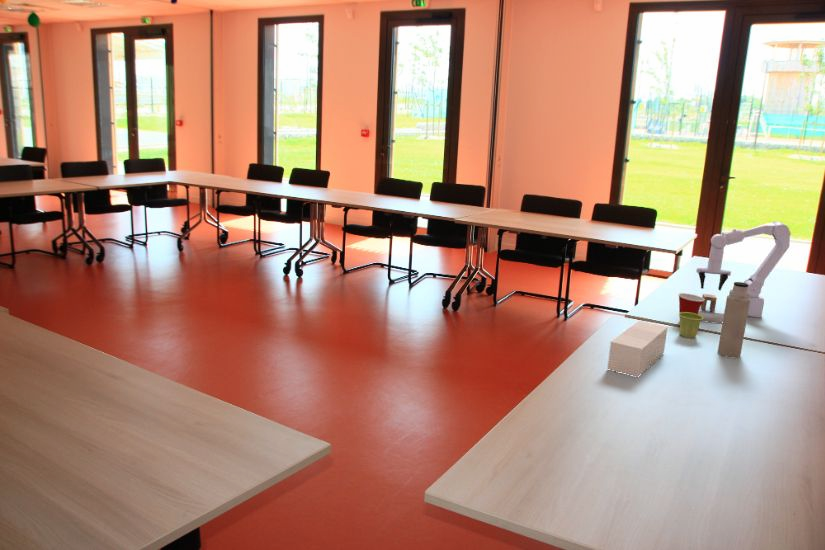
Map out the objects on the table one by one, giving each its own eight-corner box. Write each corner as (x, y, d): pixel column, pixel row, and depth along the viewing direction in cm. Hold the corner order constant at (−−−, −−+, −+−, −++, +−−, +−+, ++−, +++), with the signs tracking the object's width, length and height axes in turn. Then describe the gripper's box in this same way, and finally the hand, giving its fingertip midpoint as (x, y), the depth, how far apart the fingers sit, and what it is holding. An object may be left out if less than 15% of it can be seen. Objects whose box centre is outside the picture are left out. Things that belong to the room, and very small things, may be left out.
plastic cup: (704, 327, 296) (709, 300, 293) (679, 325, 296) (683, 298, 293) (695, 319, 307) (699, 293, 304) (670, 317, 307) (674, 291, 304)
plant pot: (700, 334, 285) (703, 314, 283) (699, 341, 277) (702, 320, 275) (676, 330, 289) (679, 310, 287) (674, 336, 281) (677, 316, 278)
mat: (728, 314, 316) (728, 314, 316) (736, 325, 301) (736, 324, 301) (691, 311, 319) (691, 310, 319) (697, 321, 304) (698, 320, 304)
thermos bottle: (716, 349, 268) (728, 279, 262) (739, 352, 266) (751, 282, 259) (718, 355, 261) (730, 284, 254) (741, 359, 259) (754, 286, 252)
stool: (712, 308, 326) (714, 295, 324) (714, 311, 321) (716, 297, 319) (700, 307, 327) (702, 293, 325) (702, 310, 322) (704, 296, 320)
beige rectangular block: (637, 378, 235) (641, 348, 232) (607, 370, 240) (610, 341, 238) (663, 354, 260) (667, 326, 258) (635, 347, 266) (639, 320, 263)
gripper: (730, 260, 320) (725, 288, 324) (697, 257, 323) (692, 285, 326) (733, 263, 314) (728, 292, 317) (700, 260, 316) (695, 289, 320)
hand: (710, 289), depth 321 cm, fingers open, 7 cm apart
